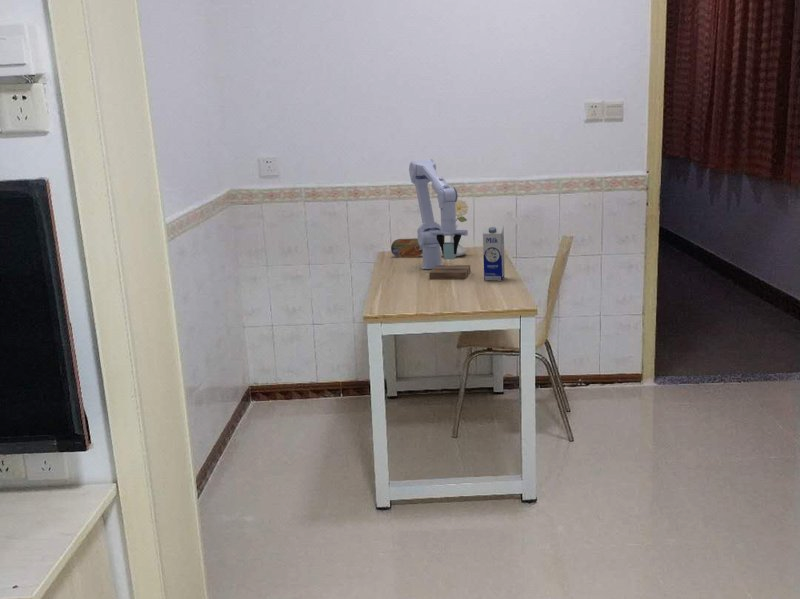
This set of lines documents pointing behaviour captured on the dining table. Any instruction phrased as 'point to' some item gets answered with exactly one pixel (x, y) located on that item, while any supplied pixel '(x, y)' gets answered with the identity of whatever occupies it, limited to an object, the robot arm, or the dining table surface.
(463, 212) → the flower in vase
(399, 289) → the dining table surface
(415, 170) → the robot arm
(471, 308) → the dining table surface
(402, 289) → the dining table surface
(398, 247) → the tin
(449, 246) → the teal block
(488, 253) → the milk carton
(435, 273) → the walnut base
